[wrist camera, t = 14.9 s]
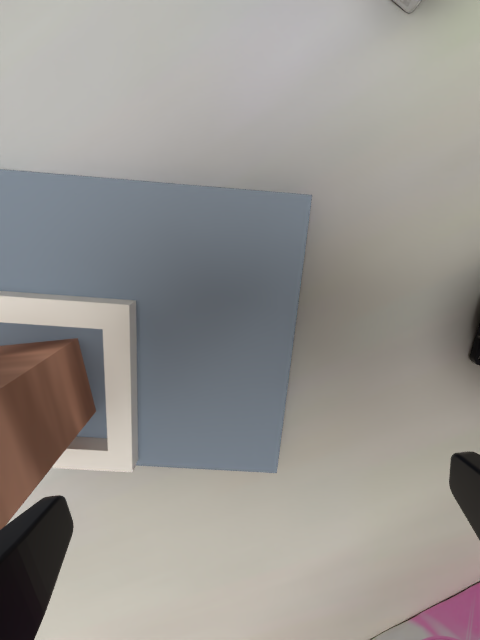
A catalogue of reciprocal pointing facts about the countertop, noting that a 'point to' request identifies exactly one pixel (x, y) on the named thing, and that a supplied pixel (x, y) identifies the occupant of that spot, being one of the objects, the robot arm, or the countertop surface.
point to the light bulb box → (408, 4)
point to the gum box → (443, 620)
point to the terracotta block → (38, 413)
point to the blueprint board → (159, 311)
